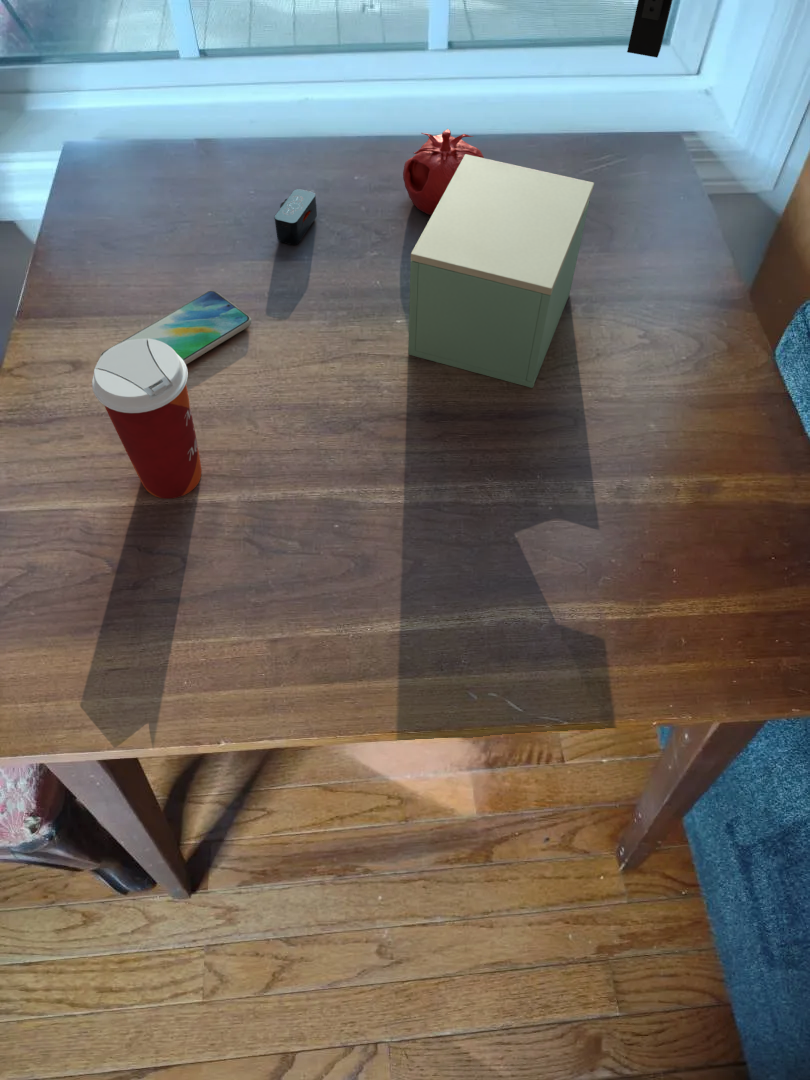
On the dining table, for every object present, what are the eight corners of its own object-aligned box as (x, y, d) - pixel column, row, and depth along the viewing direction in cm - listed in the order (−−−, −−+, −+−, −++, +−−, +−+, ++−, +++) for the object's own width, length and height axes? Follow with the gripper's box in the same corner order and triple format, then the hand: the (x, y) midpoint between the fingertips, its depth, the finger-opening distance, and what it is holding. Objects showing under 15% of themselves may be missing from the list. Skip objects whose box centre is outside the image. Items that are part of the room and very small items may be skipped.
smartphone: (96, 354, 89) (212, 287, 95) (98, 360, 89) (213, 294, 96) (137, 390, 86) (254, 318, 92) (139, 396, 86) (255, 325, 93)
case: (454, 265, 99) (461, 171, 89) (569, 294, 97) (589, 200, 87) (407, 354, 91) (410, 261, 81) (532, 388, 88) (550, 296, 79)
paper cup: (229, 476, 81) (203, 367, 70) (162, 522, 78) (123, 416, 66) (180, 431, 84) (147, 319, 73) (113, 473, 81) (67, 364, 70)
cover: (464, 160, 89) (465, 153, 89) (593, 189, 87) (594, 182, 86) (410, 260, 81) (410, 253, 80) (550, 295, 79) (552, 288, 78)
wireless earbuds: (321, 213, 104) (319, 189, 102) (297, 248, 100) (294, 224, 98) (286, 205, 105) (283, 180, 102) (261, 239, 101) (257, 214, 99)
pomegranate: (485, 180, 109) (492, 108, 101) (481, 229, 103) (488, 156, 95) (406, 174, 109) (408, 102, 101) (398, 223, 103) (399, 150, 96)
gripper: (687, -346, 61) (616, 12, 81) (655, -302, 54) (586, 78, 73) (795, -336, 60) (697, 25, 79) (777, -290, 53) (674, 94, 72)
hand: (643, 50), depth 76 cm, fingers closed
